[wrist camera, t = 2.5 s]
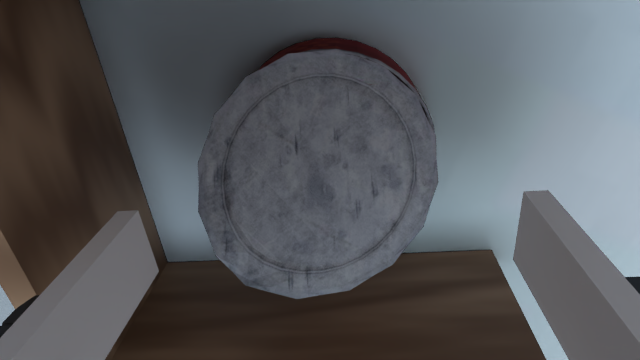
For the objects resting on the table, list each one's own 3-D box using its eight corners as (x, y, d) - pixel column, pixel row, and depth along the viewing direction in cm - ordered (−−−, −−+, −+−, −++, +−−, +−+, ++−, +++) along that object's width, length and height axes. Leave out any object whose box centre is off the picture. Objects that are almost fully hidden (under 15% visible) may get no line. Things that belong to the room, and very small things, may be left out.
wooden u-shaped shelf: (38, -41, 18) (-193, -37, 10) (536, -96, 16) (713, -143, 9) (154, 277, 27) (76, 410, 19) (489, 265, 25) (555, 408, 17)
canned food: (249, 96, 26) (124, 69, 16) (404, 25, 22) (357, -61, 13) (307, 269, 25) (212, 342, 16) (473, 225, 22) (476, 285, 13)
